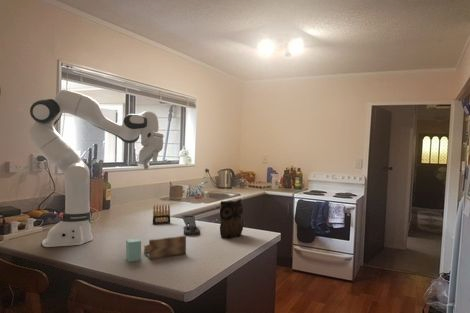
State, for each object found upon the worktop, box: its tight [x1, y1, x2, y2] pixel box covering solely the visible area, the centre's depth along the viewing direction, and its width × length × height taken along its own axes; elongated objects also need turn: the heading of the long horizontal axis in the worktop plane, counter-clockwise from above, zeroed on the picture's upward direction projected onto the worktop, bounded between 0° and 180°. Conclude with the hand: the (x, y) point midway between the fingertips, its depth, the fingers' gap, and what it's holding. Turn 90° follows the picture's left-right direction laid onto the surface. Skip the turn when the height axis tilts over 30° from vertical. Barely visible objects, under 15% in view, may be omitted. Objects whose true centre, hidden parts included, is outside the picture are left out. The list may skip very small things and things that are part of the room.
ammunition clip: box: [152, 203, 171, 225], centre depth 212 cm, size 11×2×12 cm, turn 109°
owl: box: [219, 198, 245, 240], centre depth 183 cm, size 13×13×20 cm
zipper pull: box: [181, 214, 201, 237], centre depth 196 cm, size 9×7×25 cm
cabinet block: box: [125, 237, 142, 262], centre depth 144 cm, size 5×6×8 cm
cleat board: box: [143, 235, 187, 260], centre depth 152 cm, size 16×10×8 cm, turn 120°
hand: (150, 165), depth 168 cm, fingers open, 8 cm apart
